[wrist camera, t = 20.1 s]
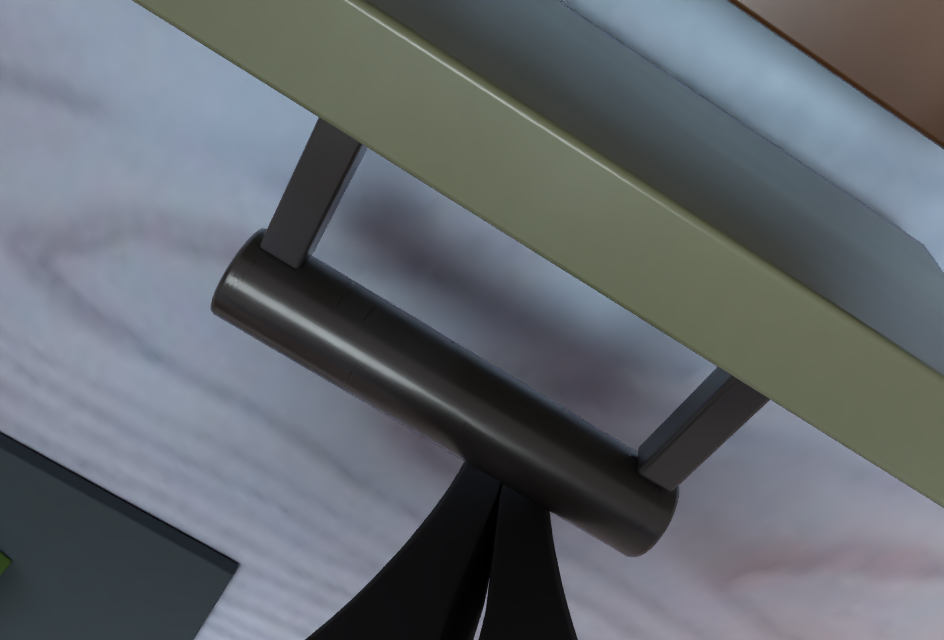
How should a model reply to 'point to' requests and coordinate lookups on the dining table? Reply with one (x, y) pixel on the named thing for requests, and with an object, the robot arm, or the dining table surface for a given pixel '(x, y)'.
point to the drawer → (599, 233)
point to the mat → (94, 561)
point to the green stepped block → (4, 562)
